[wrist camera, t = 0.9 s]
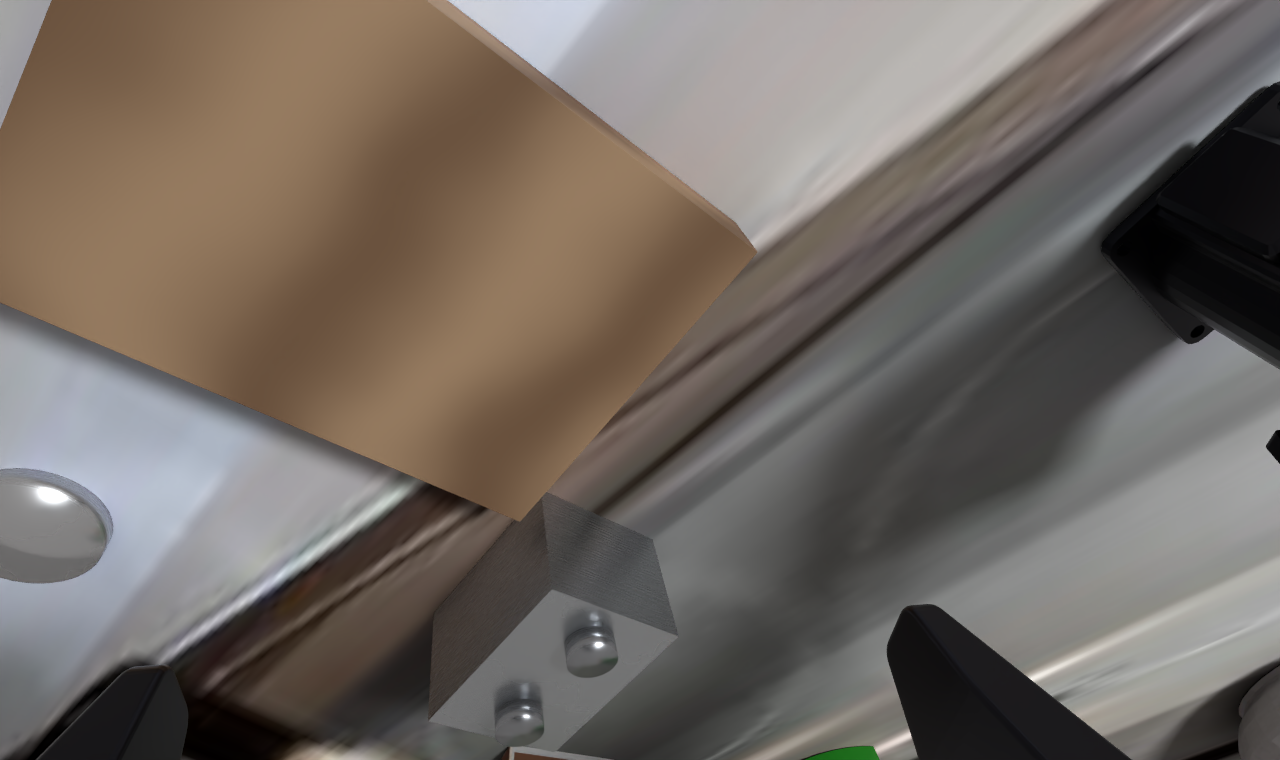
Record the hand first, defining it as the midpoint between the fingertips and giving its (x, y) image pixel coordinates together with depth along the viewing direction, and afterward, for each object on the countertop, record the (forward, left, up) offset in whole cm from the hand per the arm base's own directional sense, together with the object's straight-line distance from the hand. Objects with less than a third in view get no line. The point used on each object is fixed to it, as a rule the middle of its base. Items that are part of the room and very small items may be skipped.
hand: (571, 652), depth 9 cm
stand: (+3, +2, -13) cm, 14 cm away
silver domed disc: (+7, +16, -14) cm, 22 cm away
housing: (-8, +11, -14) cm, 19 cm away
